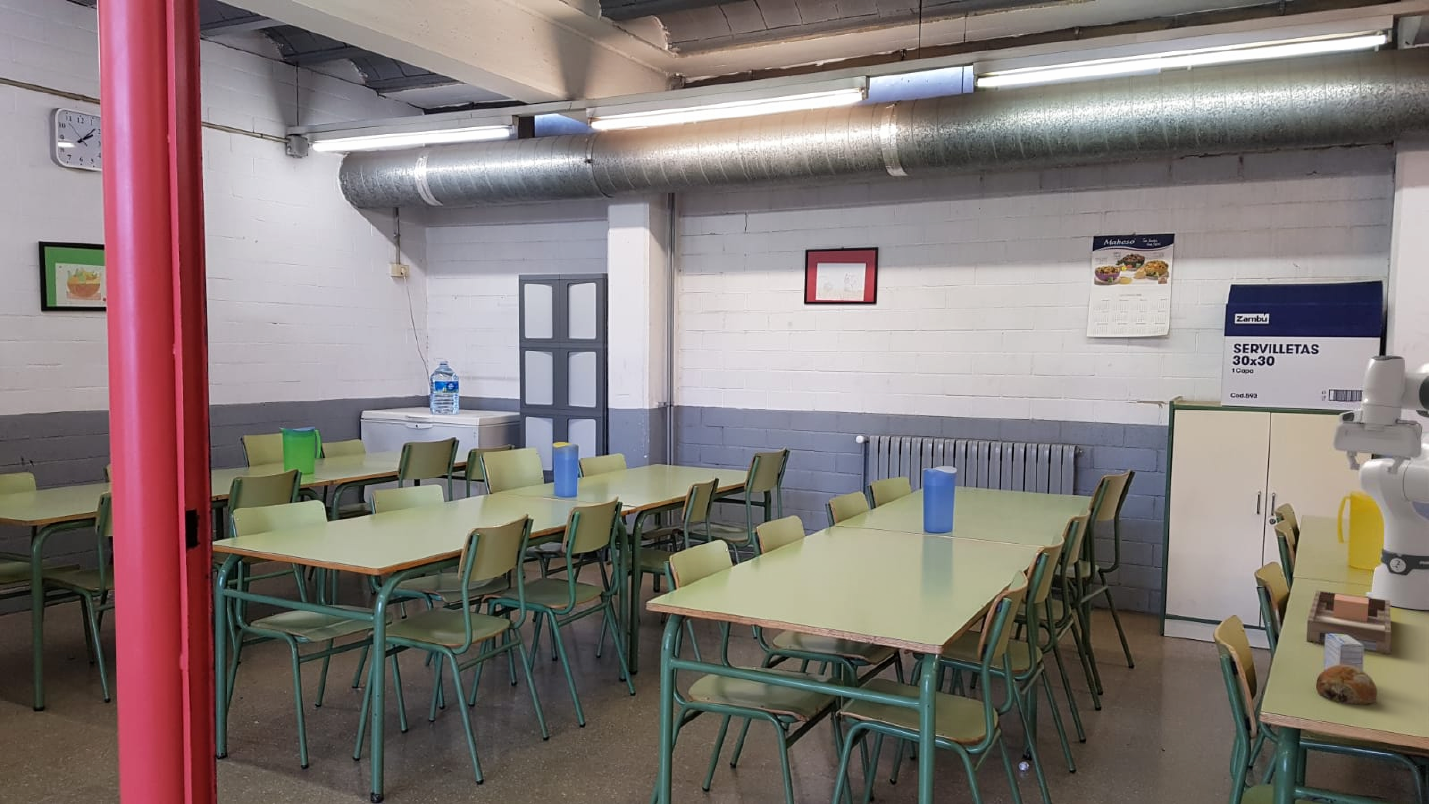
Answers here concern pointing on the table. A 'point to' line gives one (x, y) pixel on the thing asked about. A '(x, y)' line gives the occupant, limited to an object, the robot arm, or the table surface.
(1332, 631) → the tray
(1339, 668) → the bread roll
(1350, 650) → the medicine box
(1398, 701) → the table surface
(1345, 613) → the block
